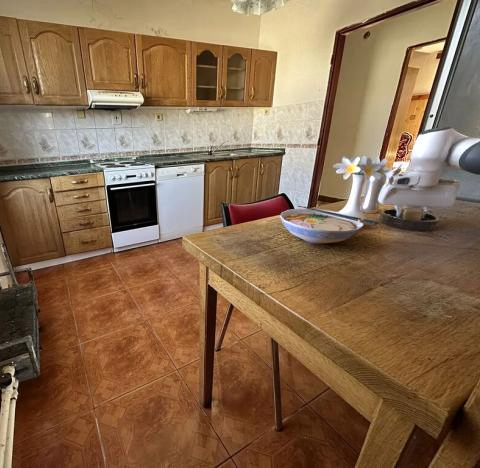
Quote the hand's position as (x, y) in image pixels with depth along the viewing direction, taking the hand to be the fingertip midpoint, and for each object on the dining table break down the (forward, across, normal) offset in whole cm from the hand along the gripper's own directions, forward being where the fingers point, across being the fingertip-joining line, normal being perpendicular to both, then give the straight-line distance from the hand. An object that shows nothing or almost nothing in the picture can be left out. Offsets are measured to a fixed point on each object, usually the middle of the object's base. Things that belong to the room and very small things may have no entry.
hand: (409, 217), depth 92 cm
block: (+2, 0, 0) cm, 2 cm away
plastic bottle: (+3, +8, -14) cm, 17 cm away
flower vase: (+3, +19, +9) cm, 21 cm away
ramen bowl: (+3, +32, +25) cm, 41 cm away
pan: (+3, 0, 0) cm, 3 cm away
